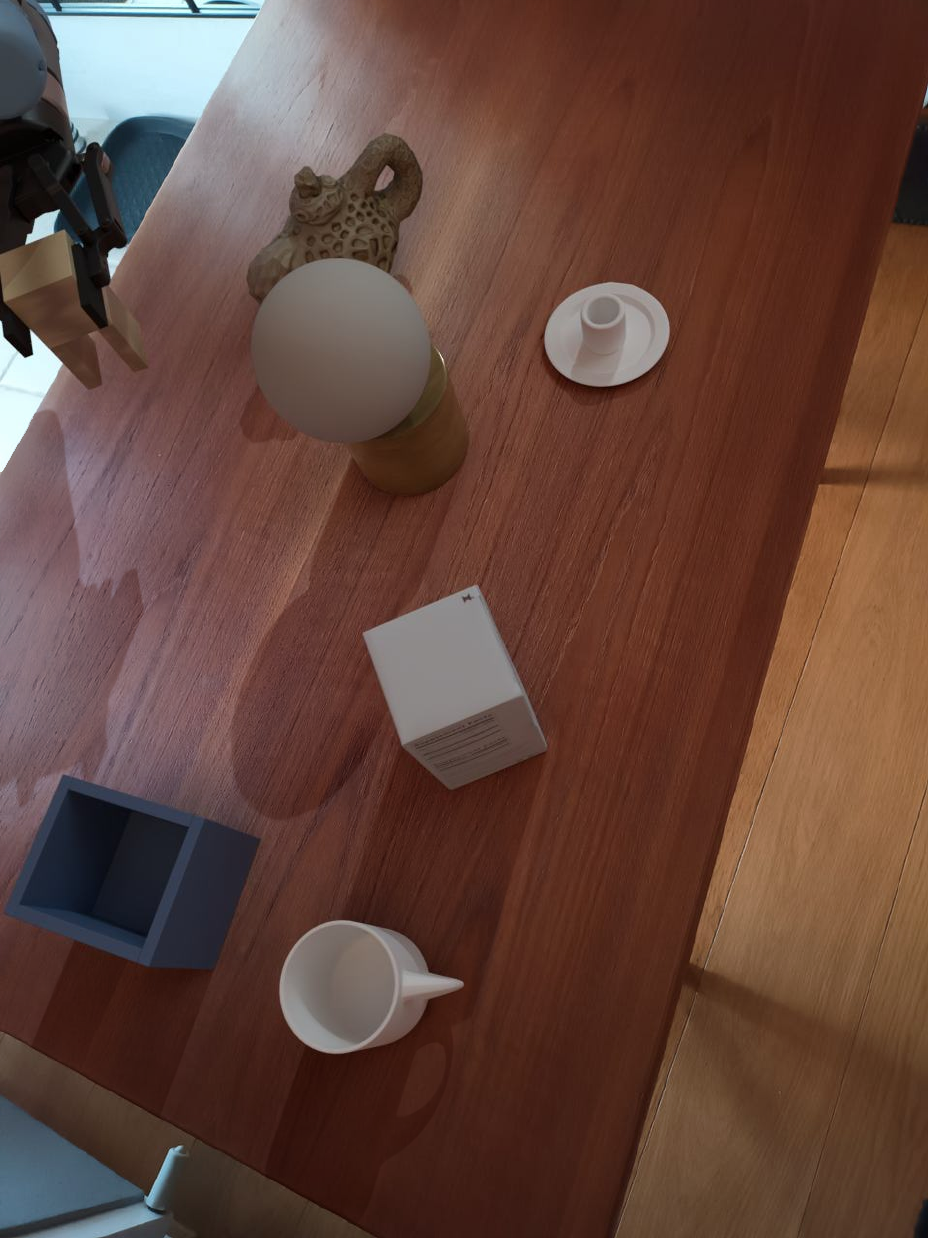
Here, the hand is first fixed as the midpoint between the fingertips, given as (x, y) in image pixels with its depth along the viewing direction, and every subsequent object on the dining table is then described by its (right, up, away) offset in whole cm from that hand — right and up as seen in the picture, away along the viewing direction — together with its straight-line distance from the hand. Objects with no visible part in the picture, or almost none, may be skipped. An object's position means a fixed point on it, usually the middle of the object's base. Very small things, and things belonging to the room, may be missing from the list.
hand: (56, 330), depth 74 cm
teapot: (+20, +13, +27) cm, 37 cm away
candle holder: (+46, +5, +19) cm, 50 cm away
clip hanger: (0, +1, +11) cm, 11 cm away
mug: (+27, -52, +1) cm, 58 cm away
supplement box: (+33, -31, +7) cm, 46 cm away
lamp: (+26, -7, +18) cm, 32 cm away
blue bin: (+7, -45, +7) cm, 46 cm away
